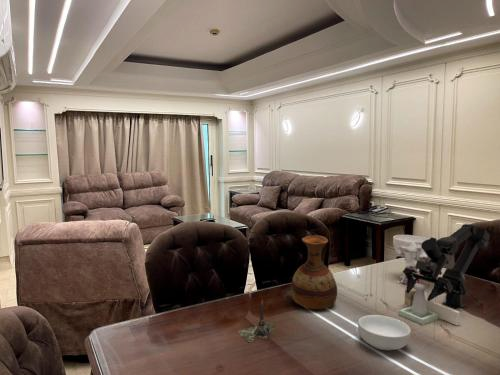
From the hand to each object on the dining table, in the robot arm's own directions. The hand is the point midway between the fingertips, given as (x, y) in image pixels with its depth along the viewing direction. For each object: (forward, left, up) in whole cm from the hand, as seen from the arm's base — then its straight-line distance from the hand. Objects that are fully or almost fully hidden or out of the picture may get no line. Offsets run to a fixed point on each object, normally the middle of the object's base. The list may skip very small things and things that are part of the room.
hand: (417, 296), depth 146 cm
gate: (-9, +1, -9) cm, 12 cm away
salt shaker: (-2, 0, -8) cm, 9 cm away
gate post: (-9, -10, -9) cm, 16 cm away
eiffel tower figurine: (+62, -15, -10) cm, 65 cm away
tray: (-1, 0, -9) cm, 9 cm away
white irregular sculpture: (-34, -29, -9) cm, 46 cm away
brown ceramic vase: (+29, -29, -9) cm, 42 cm away
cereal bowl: (+29, +10, -9) cm, 32 cm away
